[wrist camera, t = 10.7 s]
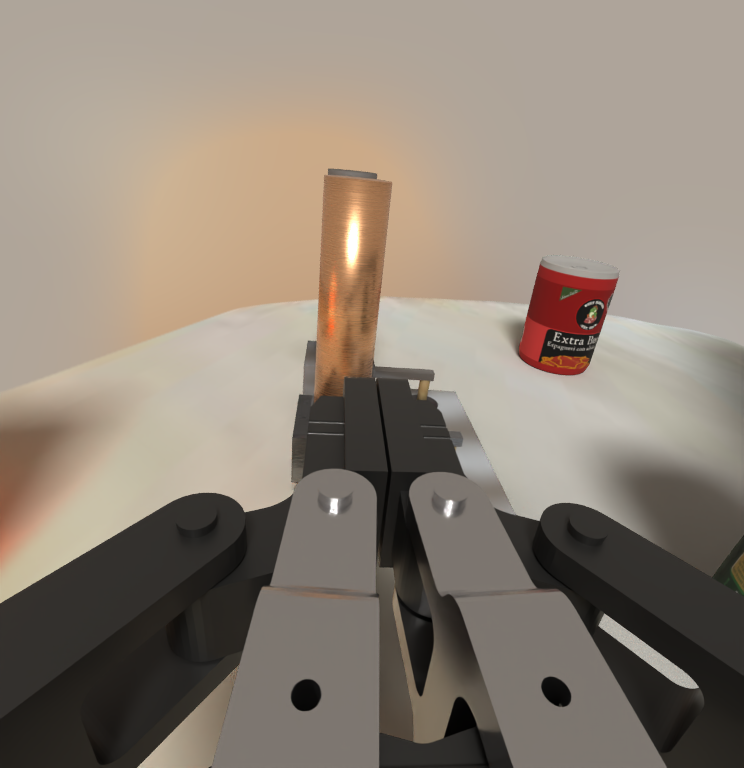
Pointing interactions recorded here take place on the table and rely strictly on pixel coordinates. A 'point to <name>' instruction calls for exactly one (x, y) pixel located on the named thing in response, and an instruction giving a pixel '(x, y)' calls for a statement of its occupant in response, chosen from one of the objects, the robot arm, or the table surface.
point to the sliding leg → (347, 293)
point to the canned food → (566, 313)
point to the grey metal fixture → (446, 401)
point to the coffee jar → (733, 569)
